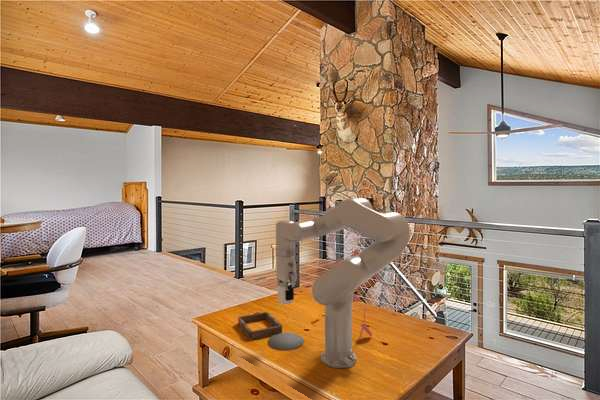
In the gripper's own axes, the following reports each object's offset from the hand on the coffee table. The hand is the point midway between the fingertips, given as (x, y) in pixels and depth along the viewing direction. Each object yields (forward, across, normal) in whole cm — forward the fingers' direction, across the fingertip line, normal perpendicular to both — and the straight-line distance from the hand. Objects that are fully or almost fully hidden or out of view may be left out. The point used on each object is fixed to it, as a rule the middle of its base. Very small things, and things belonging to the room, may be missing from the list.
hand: (285, 296), depth 133 cm
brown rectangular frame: (+18, +17, +5) cm, 25 cm away
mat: (+18, 0, 0) cm, 18 cm away
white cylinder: (+2, 0, 0) cm, 2 cm away
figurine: (+18, -6, -32) cm, 37 cm away
